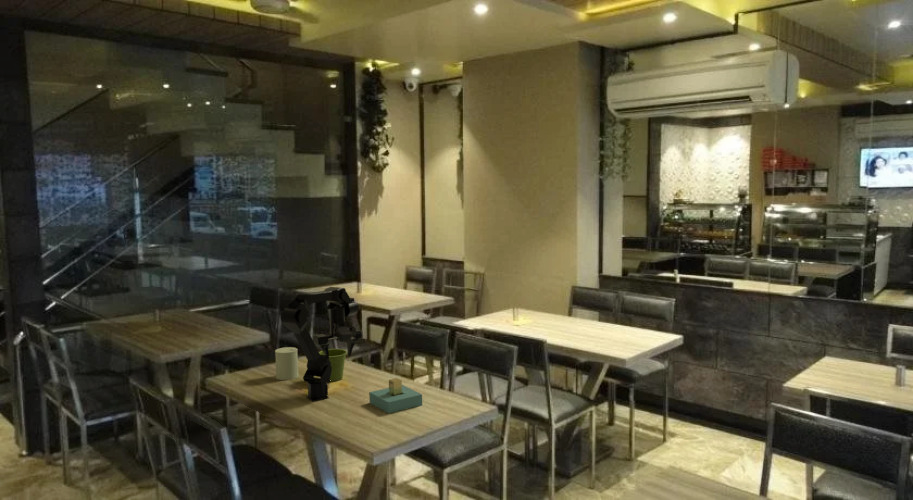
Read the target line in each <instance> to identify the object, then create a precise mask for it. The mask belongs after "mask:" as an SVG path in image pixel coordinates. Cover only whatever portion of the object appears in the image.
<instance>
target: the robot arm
mask: <svg viewBox="0 0 913 500" xmlns="http://www.w3.org/2000/svg"><path fill="white" fill-rule="evenodd" d="M323 302H328V303H329V304H328V305H326V306H325V309H326V310H329V320H328V324H329V328H330V329H329V331H328V334H329V335H327V334H324V333H319V334H315V335H313V337H312V336H311V334H310V332H309V330H308V327H307V323H308V318H307V317H308V316H309V314H310V310H311V305H312V304H317V303H323ZM301 305H303V307H302V308H301V309H299V307H300V306H301ZM359 307H360V306H359V305H358V303H357V302H356V301H355V297H350V295H349V293H348V291H347V290H346V288H345V287H339V286H338V287H337V286H329V287H327V288H325V289H324V290H320V291H311V292H299V293H298V294H297V295H296V296H295V298H294V299H292V301H290V302H288V304H286V305H285V307H284V309H283V310H282V312H281V314H280V321H281V322H282V324H283V325H284V327H286V329H288V330H289V331H290V332H292V333H293V335H294V336H295V339H296V340H297V343H298V344H299V346H300V349H301V350H302V351H303V354H304V356H305V357H306V360H307V362H306V371H305V373H304V374H303V377H302V379H303V383H307V395H306V397H305V398H307V399H309V400H310V401H312V402H315V401H320V400H325V399H329V398H330V397H329V396H328V395H329V390H328V384H327V383H330V382H331V381H330V376H331V371H332V367H331V362H330V361H329V351H328V349H329V346H330V344H329V343H328V342H329V341H333V340H339V341H340V342H341V343H342V342H346V347H347V350H346V351H347V356H348V357H351V355H352V352H353V349H354V346H355V344H356V343H357V342H358V341H360V339H362V338H363V332H362V330H360V329H357V328H356V326H348V325H347V324H348V323H347V321H346V317H350V316H353V315H356V314H357V313H358V312H359V311H360V310H359V309H360V308H359ZM297 308H298V309H297ZM317 345H318V346H320V349H321V351H323V352H324V355H320V353H319V352H320V351H319V349H318V347H317Z"/></svg>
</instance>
